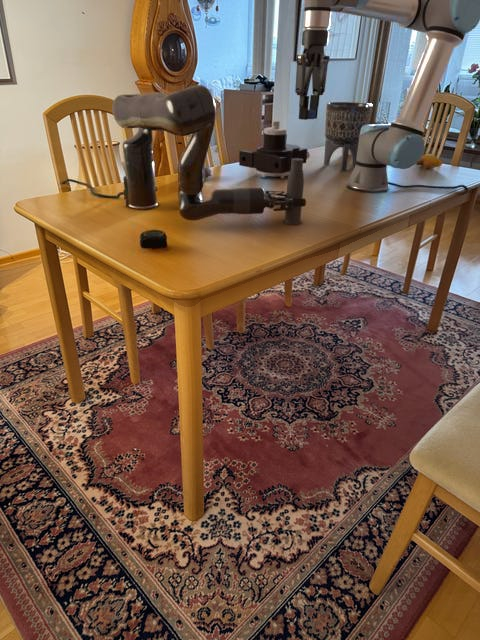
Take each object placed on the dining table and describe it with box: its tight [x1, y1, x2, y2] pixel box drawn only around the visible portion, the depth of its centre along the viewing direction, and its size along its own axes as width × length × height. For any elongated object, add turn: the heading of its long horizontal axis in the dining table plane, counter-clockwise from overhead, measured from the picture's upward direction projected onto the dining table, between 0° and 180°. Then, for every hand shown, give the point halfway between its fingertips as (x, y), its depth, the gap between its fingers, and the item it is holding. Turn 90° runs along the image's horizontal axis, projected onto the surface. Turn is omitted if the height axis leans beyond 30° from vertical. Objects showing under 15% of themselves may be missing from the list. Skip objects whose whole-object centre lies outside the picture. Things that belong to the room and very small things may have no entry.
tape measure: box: [139, 229, 168, 250], centre depth 117 cm, size 7×7×4 cm
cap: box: [307, 109, 316, 120], centre depth 140 cm, size 5×4×2 cm
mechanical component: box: [238, 120, 311, 179], centre depth 191 cm, size 22×21×30 cm
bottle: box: [284, 158, 305, 226], centre depth 134 cm, size 5×5×18 cm
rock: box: [204, 165, 213, 179], centre depth 182 cm, size 13×9×6 cm, turn 131°
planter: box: [323, 101, 374, 172], centre depth 204 cm, size 20×20×26 cm
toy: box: [415, 153, 443, 170], centre depth 212 cm, size 11×6×15 cm
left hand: (302, 199), depth 136 cm, fingers closed on bottle, 4 cm apart
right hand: (307, 118), depth 141 cm, fingers closed on cap, 4 cm apart
